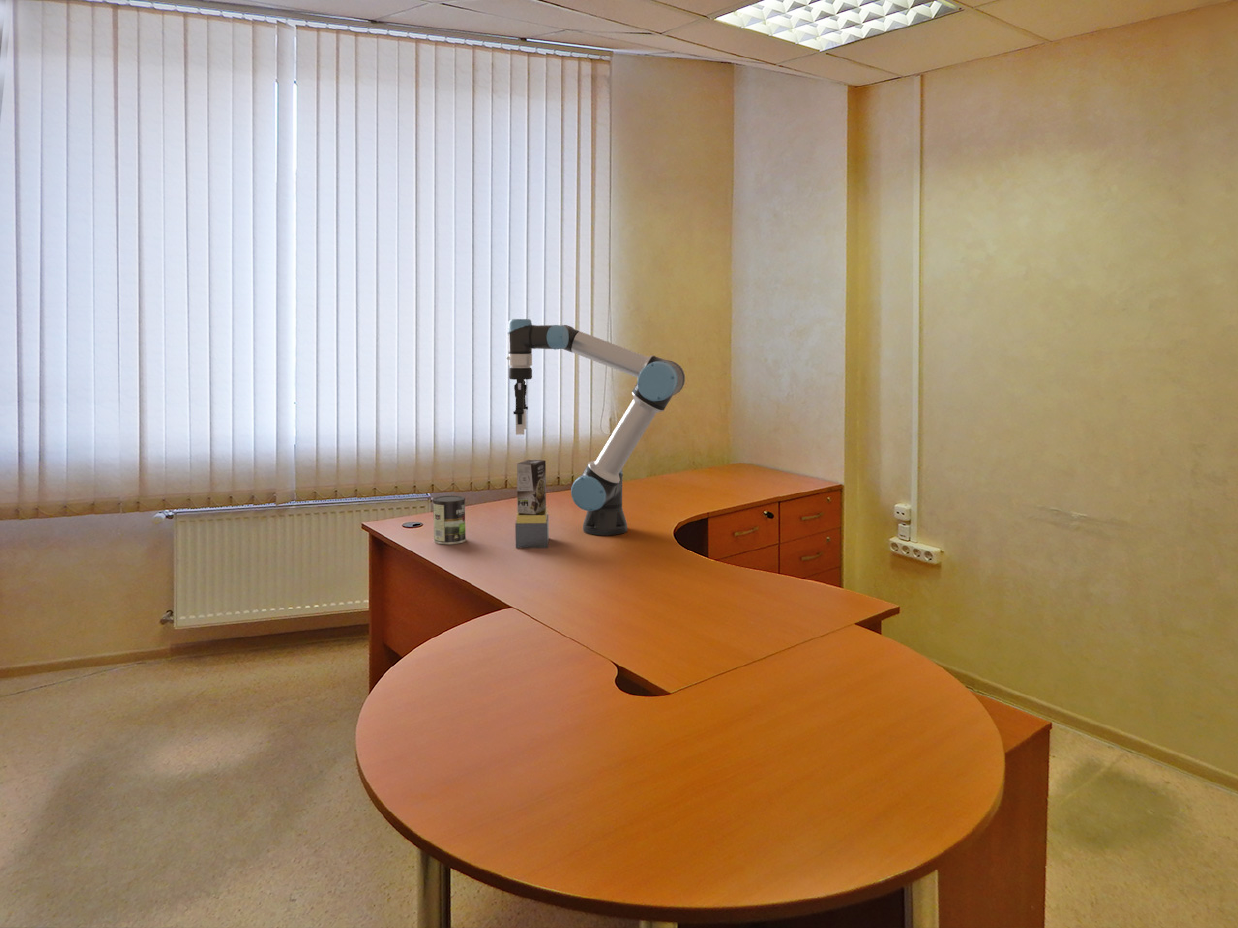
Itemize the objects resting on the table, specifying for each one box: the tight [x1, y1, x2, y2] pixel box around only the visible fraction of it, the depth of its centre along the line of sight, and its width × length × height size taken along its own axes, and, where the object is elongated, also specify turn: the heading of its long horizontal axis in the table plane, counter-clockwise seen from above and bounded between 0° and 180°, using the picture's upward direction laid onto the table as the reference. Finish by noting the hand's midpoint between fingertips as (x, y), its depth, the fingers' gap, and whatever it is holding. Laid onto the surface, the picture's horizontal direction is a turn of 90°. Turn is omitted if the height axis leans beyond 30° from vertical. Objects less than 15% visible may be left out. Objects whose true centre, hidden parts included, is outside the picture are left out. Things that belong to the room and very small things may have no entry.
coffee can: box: [432, 495, 467, 545], centre depth 274 cm, size 10×10×14 cm
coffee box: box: [516, 459, 547, 515], centre depth 270 cm, size 9×6×16 cm
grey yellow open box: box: [514, 506, 550, 549], centre depth 272 cm, size 10×12×10 cm
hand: (521, 431), depth 278 cm, fingers open, 13 cm apart
